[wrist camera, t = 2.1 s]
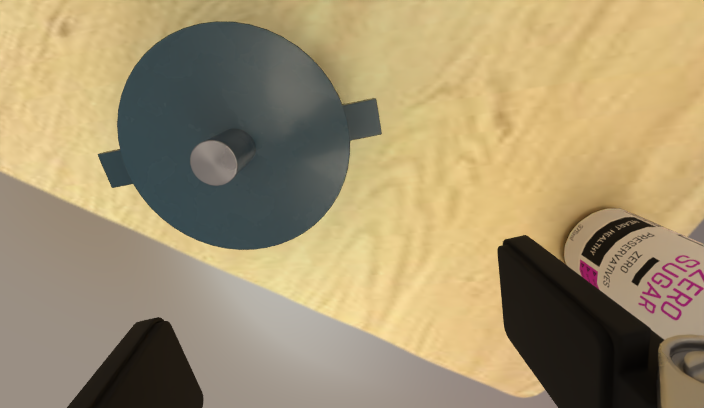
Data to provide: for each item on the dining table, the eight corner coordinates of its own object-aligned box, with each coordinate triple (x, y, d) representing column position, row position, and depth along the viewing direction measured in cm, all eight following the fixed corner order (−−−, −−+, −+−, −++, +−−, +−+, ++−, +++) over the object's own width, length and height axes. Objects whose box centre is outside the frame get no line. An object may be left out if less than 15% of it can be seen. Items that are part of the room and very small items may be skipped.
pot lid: (89, 50, 22) (3, 38, 16) (324, 2, 21) (322, -26, 16) (173, 259, 26) (130, 308, 21) (365, 221, 26) (375, 260, 21)
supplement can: (624, 276, 39) (795, 387, 25) (552, 277, 38) (684, 392, 24) (646, 205, 36) (851, 285, 22) (568, 206, 36) (727, 287, 21)
